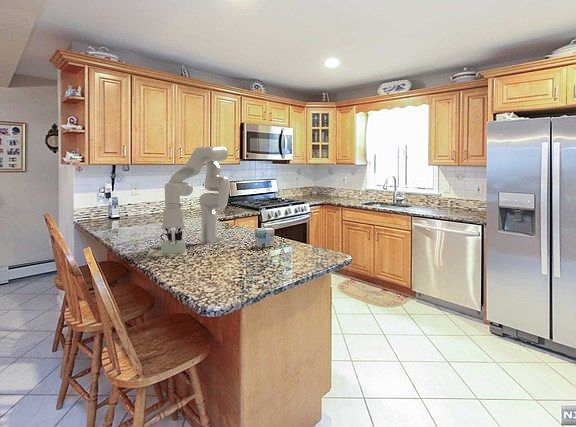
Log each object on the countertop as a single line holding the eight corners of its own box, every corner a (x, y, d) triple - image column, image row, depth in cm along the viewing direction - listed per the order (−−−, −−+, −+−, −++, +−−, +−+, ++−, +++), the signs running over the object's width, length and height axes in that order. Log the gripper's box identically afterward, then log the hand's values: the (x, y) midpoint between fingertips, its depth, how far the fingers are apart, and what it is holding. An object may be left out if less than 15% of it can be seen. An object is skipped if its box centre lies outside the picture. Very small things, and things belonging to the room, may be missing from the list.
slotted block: (185, 250, 197) (185, 239, 196) (184, 253, 191) (184, 242, 190) (162, 251, 194) (162, 240, 193) (161, 254, 188) (161, 242, 188)
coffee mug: (185, 247, 212) (185, 230, 211) (176, 250, 204) (176, 233, 203) (169, 245, 216) (169, 229, 214) (160, 248, 208) (159, 231, 206)
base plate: (187, 251, 201) (187, 248, 201) (186, 257, 188) (186, 254, 187) (150, 252, 197) (150, 250, 197) (146, 259, 183) (146, 256, 183)
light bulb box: (257, 247, 214) (257, 230, 212) (254, 245, 220) (254, 228, 218) (274, 246, 218) (274, 229, 216) (271, 244, 224) (271, 227, 222)
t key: (176, 240, 197) (176, 229, 196) (175, 244, 187) (174, 232, 187) (172, 240, 197) (171, 229, 196) (170, 244, 187) (169, 232, 186)
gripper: (188, 205, 195) (189, 238, 197) (157, 205, 191) (158, 239, 194) (187, 206, 188) (188, 241, 190) (155, 207, 184) (157, 242, 186)
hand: (173, 239), depth 192 cm, fingers closed on t key, 1 cm apart
